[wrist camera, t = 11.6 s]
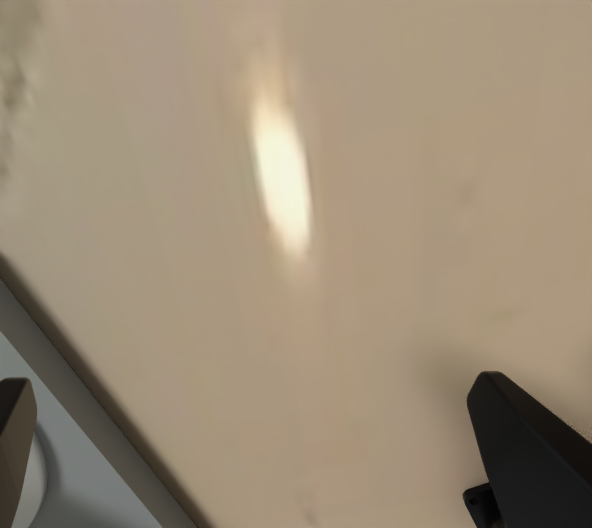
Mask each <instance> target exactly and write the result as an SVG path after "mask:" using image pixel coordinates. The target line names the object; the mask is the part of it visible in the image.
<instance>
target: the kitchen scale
mask: <svg viewBox="0 0 592 528" xmlns="http://www.w3.org/2000/svg"><path fill="white" fill-rule="evenodd" d="M8 377H26V378H29V379H30V381H31V383H32V387H33V391H34V395H35V399H36V403H37V419H36V424H35V429H34V434H33V439H32V444H31V449H30V454H29V459H28V464H27V469H26V474H25V479H24V484H23V488H22V493H21V497H20V501H19V505H18V508H17V511H16V515H15V518H14V521H13V524H12V527H11V528H197V526H196V525H195V524H194V523H193V521H192V520H191V519H190V518H189V516H188V515H187V514H186V513H185V511H184V510H183V509H182V507H181V506H180V505H179V504H178V502H177V501H176V500H175V499H174V497H173V496H172V495H171V494H170V492H169V491H168V490H167V488H166V487H165V486H164V485H163V483H162V482H161V481H160V480H159V478H158V477H157V476H156V475H155V473H154V472H153V471H152V470H151V468H150V467H149V466H148V464H147V463H146V462H145V461H144V459H143V458H142V457H141V456H140V454H139V453H138V452H137V451H136V449H135V448H134V447H133V446H132V444H131V443H130V442H129V440H128V439H127V438H126V437H125V435H124V434H123V433H122V432H121V430H120V429H119V428H118V427H117V425H116V424H115V423H114V421H113V420H112V419H111V418H110V416H109V415H108V414H107V413H106V411H105V410H104V409H103V408H102V406H101V405H100V404H99V403H98V401H97V400H96V399H95V397H94V396H93V395H92V394H91V392H90V391H89V390H88V389H87V387H86V386H85V385H84V384H83V382H82V381H81V380H80V379H79V377H78V376H77V375H76V373H75V372H74V371H73V370H72V368H71V367H70V366H69V365H68V363H67V362H66V361H65V360H64V358H63V357H62V356H61V354H60V353H59V352H58V351H57V349H56V348H55V347H54V346H53V344H52V343H51V342H50V341H49V339H48V338H47V337H46V336H45V334H44V333H43V332H42V330H41V329H40V328H39V327H38V325H37V324H36V323H35V322H34V320H33V319H32V318H31V317H30V315H29V314H28V313H27V312H26V310H25V309H24V308H23V306H22V305H21V304H20V303H19V301H18V300H17V299H16V298H15V296H14V295H13V294H12V293H11V291H10V290H9V289H8V287H7V286H6V285H5V284H4V282H3V281H2V280H1V279H0V381H1V380H2V379H4V378H8Z"/></svg>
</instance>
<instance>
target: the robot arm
mask: <svg viewBox="0 0 592 528" xmlns="http://www.w3.org/2000/svg"><path fill="white" fill-rule="evenodd" d="M467 407H468V411H469V414H470V418H471V422H472V425H473V429H474V432H475V436H476V440H477V443H478V447H479V450H480V454H481V458H482V461H483V465H484V468H485V471H486V474H487V477H488V479H489V483H486V484H483V485H480V486H477V487H474V488H470V489H468V490H466V491H465V492H464V493H463V499H464V502H465V505H466V507H467V509H468V511H469V513H470V515H471V517H472V519H473V521H474V523H475V525H476V526H477V528H592V444H591V443H590V442H589V441H588V440H586V439H585V438H584V437H583V436H581V435H580V434H579V433H578V432H576V431H575V430H574V429H572V428H571V427H570V426H569V425H567V424H566V423H565V422H564V421H562V420H561V419H560V418H559V417H557V416H556V415H555V414H553V413H552V412H551V411H550V410H548V409H547V408H546V407H545V406H543V405H542V404H541V403H540V402H538V401H537V400H536V399H535V398H533V397H532V396H531V395H529V394H528V393H527V392H526V391H524V390H523V389H522V388H521V387H519V386H518V385H517V384H516V383H514V382H513V381H512V380H510V379H509V378H508V377H507V376H505V375H504V374H503V373H501V372H498V371H483V372H481V373H480V374H479V375H478V376H477V378H476V380H475V382H474V384H473V386H472V388H471V390H470V392H469V394H468V396H467ZM36 419H37V403H36V399H35V395H34V391H33V387H32V383H31V381H30V379H29V378H26V377H8V378H4V379H2V380H1V381H0V528H11V527H12V524H13V521H14V518H15V515H16V511H17V508H18V505H19V501H20V497H21V493H22V488H23V484H24V479H25V474H26V469H27V464H28V459H29V454H30V449H31V444H32V439H33V434H34V429H35V424H36ZM472 498H474V499H472Z"/></svg>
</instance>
